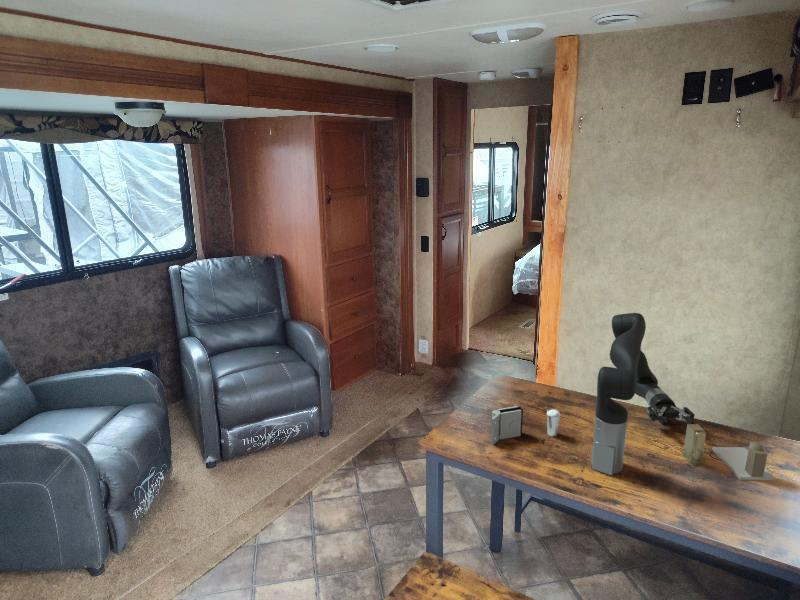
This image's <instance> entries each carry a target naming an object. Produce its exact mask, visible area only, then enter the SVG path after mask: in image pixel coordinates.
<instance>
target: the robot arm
mask: <svg viewBox="0 0 800 600" xmlns="http://www.w3.org/2000/svg"><path fill="white" fill-rule="evenodd" d="M646 328H647V325H646V320H645V317H644V316H643V315H642V314H641V313H640V312H629V313H620V314H615V315H614V316H613V317H612V319H611V329H612V333H613V336H614V338H615V339H614V340H613V341H612V344H611V346H610V350H609V359H610V361H611V363H612V364H613V366H614V367H612V366H601V368H600V369H599V370H598V374H597V382H596V386H597V387H596V391H597V392H596V406H595V407H596V408H595V415H594V417H595V419H594V427H593V429H594V430H593V439H592V451H591V462H590V463H591V469H592V470H594V471H597V472H601V473H603V474H606V475H609V476H613V475H615V474H618V473H620V472H621V471H622V470H623V465H624V456H625V455H624V454H625V445H626V438H627V437H626V436H627V428H628V426H627V425H628V419H629V411H628V410H627V408H626V407H625V406H623V405H622V404H620V403H618V402H616V401H615V400H620V401H630V400H632V399H633V398H634V396H635V395H637V396H638V397H641V398H643V399H644V400H645V402H647V404H648V406H647V410H646V414H647V416H648V418H649V420H651V421H652V422H655V421H657V422H658V423H660V425H661V426H663V427H664V428H667V427H668V420H667V419H676V420H678V421H683V422H685V423H686V425H687V424H695V413H694V412H693V411H692V410H691V409H690V408H688V407H687V406H684V407H683V408H680V407H678V406H676V403H675V401H674V400H673V399H672V398H671V397H670V396H669V395H668V393H666V392H665V391H664V390H662V389H661V387H660V386H659V381H658V378H657V377H656V375H655V374H654V373H653V372H652V370H651V369H650V366H649V363H648V359H647V356H646V355H645V353H644V352H643V351H642V342H643V340H644V337H645V334H646ZM614 399H615V400H614Z"/></svg>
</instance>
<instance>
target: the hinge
mask: <svg viewBox="0 0 800 600" xmlns="http://www.w3.org/2000/svg"><path fill="white" fill-rule="evenodd" d="M523 414H524V409H523V408H522V407H521V406H518V405H513V406H509V407H504V408H498V409H495V410H492V411H491V425H490V427H491V428H490V429H491V430H490V445H491V446H494V445H495V444H496V443H498V442H499V440H505V439H510V438H516V437H521V435H523V420H524V419H523V417H524V415H523Z"/></svg>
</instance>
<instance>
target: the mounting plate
mask: <svg viewBox="0 0 800 600" xmlns="http://www.w3.org/2000/svg"><path fill="white" fill-rule="evenodd" d="M712 451H713V452H714V453H715V454H716V455H717V457H718V458H719V459H720V460H721V461H722V462H723V463H724V464H725V466H726V467H727V468H728V469H729V470H730V471H731V472H732V473H733V474H734V475H735V477H736V478H737V479H738V480H739V481H744V480H745V481H775V478H776V477H775V476H774V475H773V474H772V473H771V472H770V471H769V470H768V469H767V468H766V463H767V458H768V452H766V451H765V449H763V445H762V444H761V443H759V442H757V441H750V442H749V446H748V450H747V449H746V447H745V446H743V447H740V446H737V447H736V446H735V447H734V446H723V447H722V446H713V447H712Z"/></svg>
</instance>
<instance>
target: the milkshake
mask: <svg viewBox="0 0 800 600" xmlns="http://www.w3.org/2000/svg"><path fill="white" fill-rule="evenodd" d="M544 407H545V410H546V424H547V426H546V427H547V428H546V429H547V433H546V434H547V435H548V436H550V437H557V435H558V429H559V423H560V420H561V419H560V418H561V413H560V411H559V410H558V409H556V408H555V409H549V410H548V408H547V405H545V406H544Z"/></svg>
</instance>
